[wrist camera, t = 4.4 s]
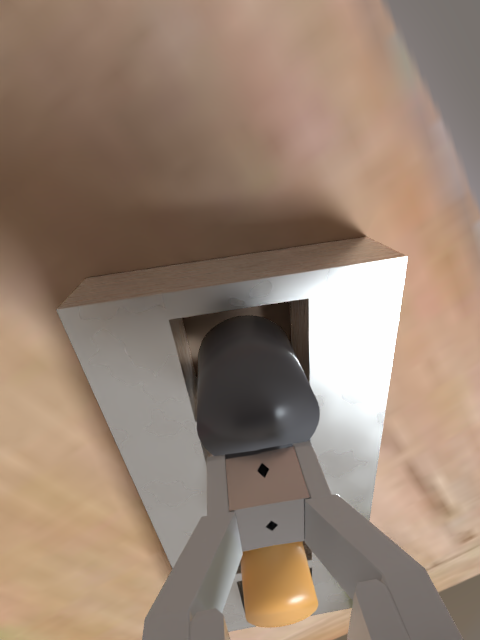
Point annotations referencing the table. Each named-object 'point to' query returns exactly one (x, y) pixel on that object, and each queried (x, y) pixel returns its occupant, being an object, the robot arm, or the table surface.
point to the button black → (252, 389)
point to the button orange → (277, 585)
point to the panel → (181, 383)
